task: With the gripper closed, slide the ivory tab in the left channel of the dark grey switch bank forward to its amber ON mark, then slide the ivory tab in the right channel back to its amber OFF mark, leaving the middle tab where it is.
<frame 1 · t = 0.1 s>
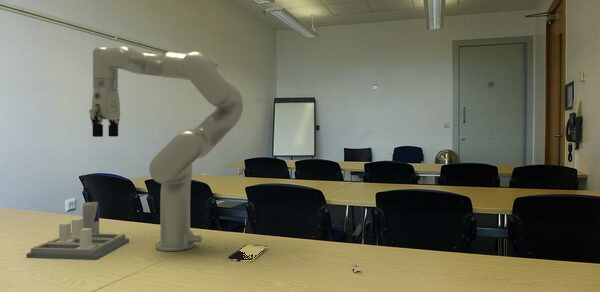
hand: (105, 136, 135), 37 cm above the table, tool pointing down, fingers open, 9 cm apart
middle tab: (65, 234, 131), point 5 cm above the table, slide at 11.0 cm
phone: (248, 255, 128), on the table
energy drink: (91, 236, 149), on the table
left tab: (85, 240, 124), point 5 cm above the table, slide at 0.0 cm
right tab: (77, 229, 138), point 5 cm above the table, slide at 11.0 cm
switch bank: (81, 249, 131), on the table
adhesive hook: (360, 273, 112), on the table
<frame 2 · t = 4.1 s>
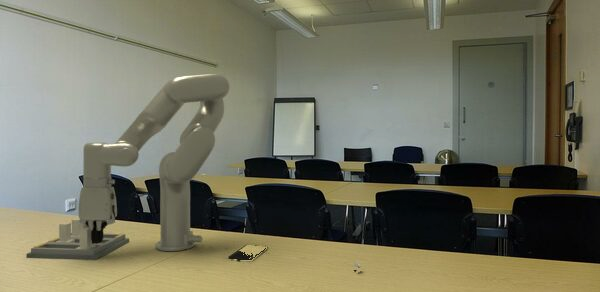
hand: (97, 242, 124), 4 cm above the table, tool pointing down, fingers closed
left tab: (85, 240, 124), point 5 cm above the table, slide at 0.0 cm, touching gripper
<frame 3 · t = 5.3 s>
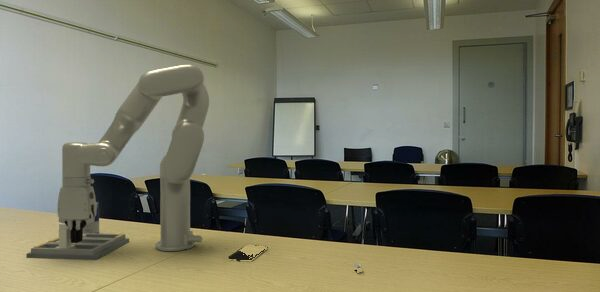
hand: (76, 241, 124), 4 cm above the table, tool pointing down, fingers closed
left tab: (65, 239, 125), point 5 cm above the table, slide at 6.6 cm, touching gripper
everything else where it was.
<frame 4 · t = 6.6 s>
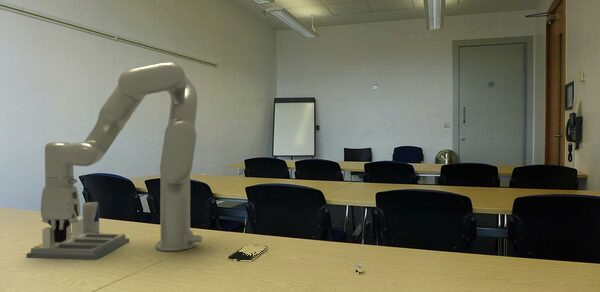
hand: (60, 241, 125), 4 cm above the table, tool pointing down, fingers closed
left tab: (48, 239, 125), point 5 cm above the table, slide at 11.9 cm, touching gripper
everything else where it was.
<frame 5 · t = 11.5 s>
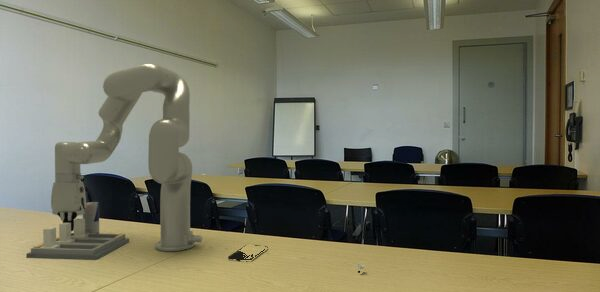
hand: (68, 231, 138), 4 cm above the table, tool pointing down, fingers closed
left tab: (49, 239, 125), point 5 cm above the table, slide at 11.6 cm
right tab: (79, 229, 138), point 5 cm above the table, slide at 10.3 cm, touching gripper
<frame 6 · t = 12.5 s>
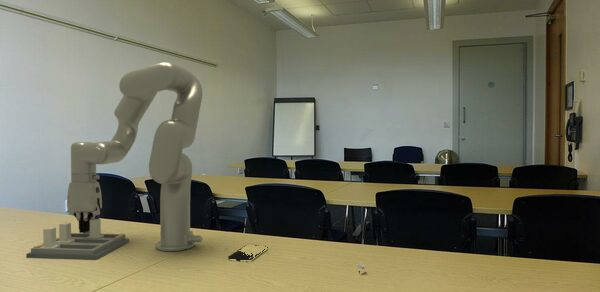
hand: (84, 231, 138), 4 cm above the table, tool pointing down, fingers closed
right tab: (95, 229, 137), point 5 cm above the table, slide at 4.7 cm, touching gripper
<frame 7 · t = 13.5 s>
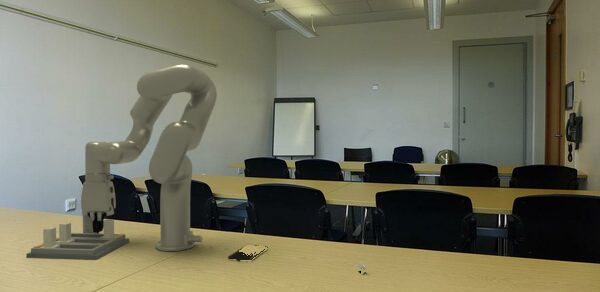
hand: (98, 231, 137), 4 cm above the table, tool pointing down, fingers closed
right tab: (108, 230, 137), point 5 cm above the table, slide at -0.1 cm, touching gripper
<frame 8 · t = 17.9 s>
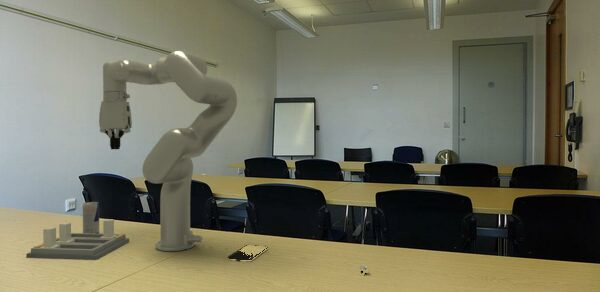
hand: (115, 149, 144), 32 cm above the table, tool pointing down, fingers closed
right tab: (108, 230, 137), point 5 cm above the table, slide at -0.1 cm
at the end: left tab slide at 11.6 cm; right tab slide at -0.1 cm; middle tab slide at 11.0 cm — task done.
